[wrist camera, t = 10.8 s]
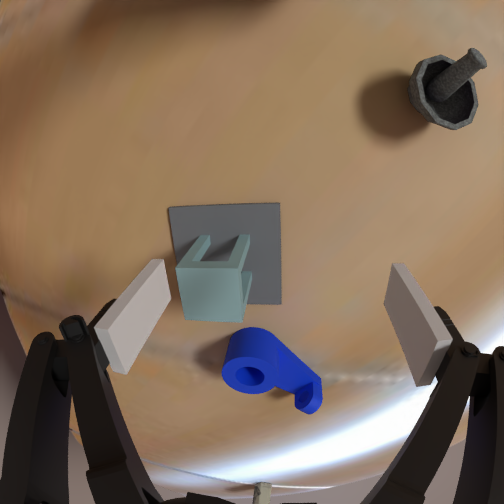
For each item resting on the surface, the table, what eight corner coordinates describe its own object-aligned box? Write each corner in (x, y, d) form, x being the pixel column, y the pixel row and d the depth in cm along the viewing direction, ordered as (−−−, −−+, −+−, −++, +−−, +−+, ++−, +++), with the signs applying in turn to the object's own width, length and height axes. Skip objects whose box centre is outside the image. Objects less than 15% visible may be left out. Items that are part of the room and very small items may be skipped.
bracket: (219, 345, 51) (210, 375, 44) (251, 317, 48) (245, 347, 41) (295, 393, 55) (295, 422, 48) (329, 372, 51) (332, 402, 44)
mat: (170, 206, 42) (168, 207, 41) (279, 202, 40) (279, 203, 39) (185, 300, 48) (183, 302, 47) (281, 302, 46) (281, 304, 45)
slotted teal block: (200, 235, 42) (175, 267, 32) (249, 234, 41) (237, 268, 31) (205, 279, 45) (185, 319, 35) (252, 279, 44) (242, 322, 34)
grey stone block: (261, 481, 77) (257, 511, 65) (272, 483, 77) (269, 513, 65) (254, 484, 79) (250, 513, 67) (265, 487, 79) (261, 515, 67)
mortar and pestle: (438, 140, 33) (485, 148, 22) (387, 104, 32) (425, 96, 21) (462, 82, 28) (509, 75, 17) (413, 45, 28) (453, 23, 17)
